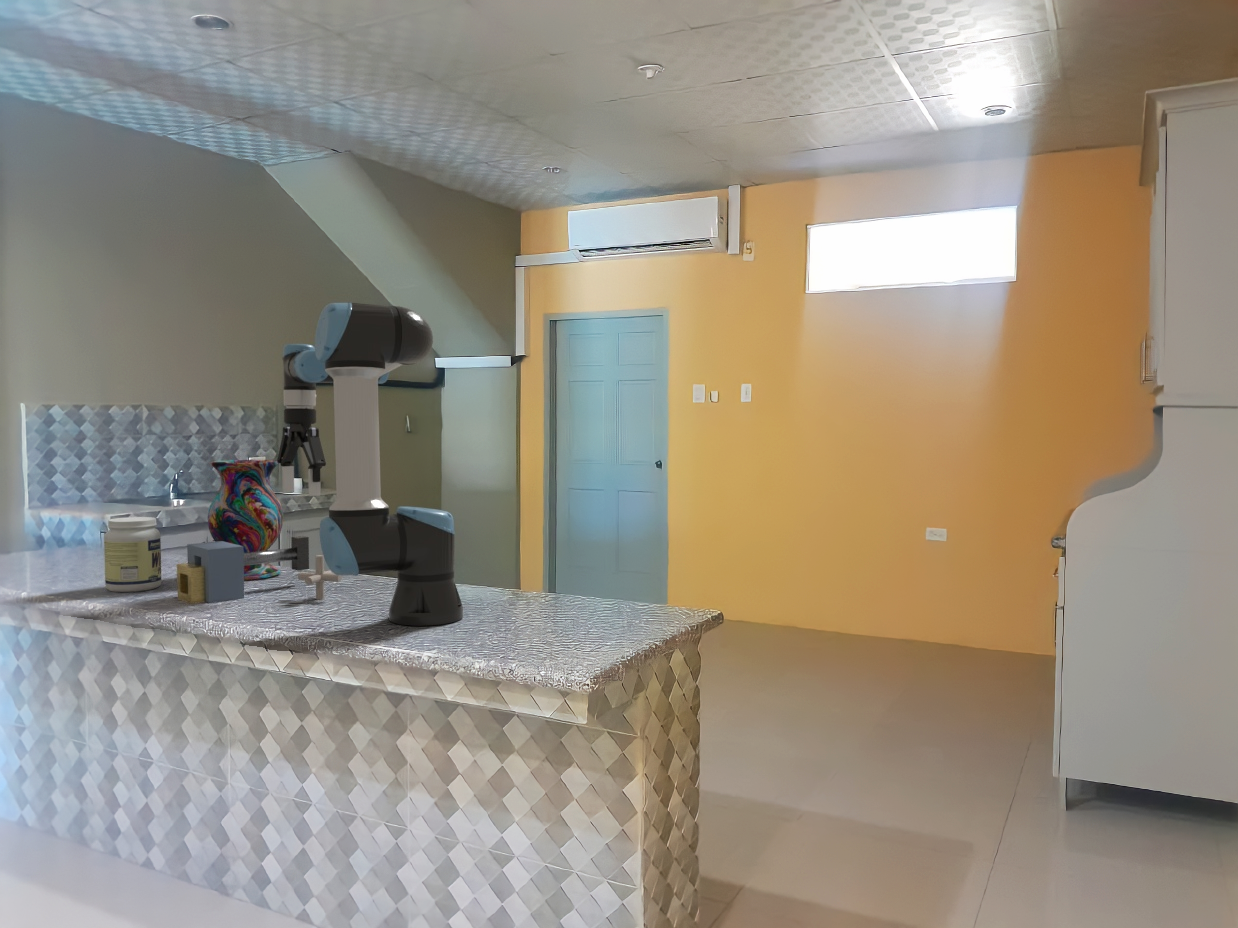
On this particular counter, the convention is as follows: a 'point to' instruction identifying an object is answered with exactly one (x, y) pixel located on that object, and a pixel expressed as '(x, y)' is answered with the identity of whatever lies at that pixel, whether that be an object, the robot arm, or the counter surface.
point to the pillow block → (220, 569)
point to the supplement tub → (132, 554)
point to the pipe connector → (319, 577)
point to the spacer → (191, 583)
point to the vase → (247, 510)
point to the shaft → (283, 554)
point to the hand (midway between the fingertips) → (301, 494)
